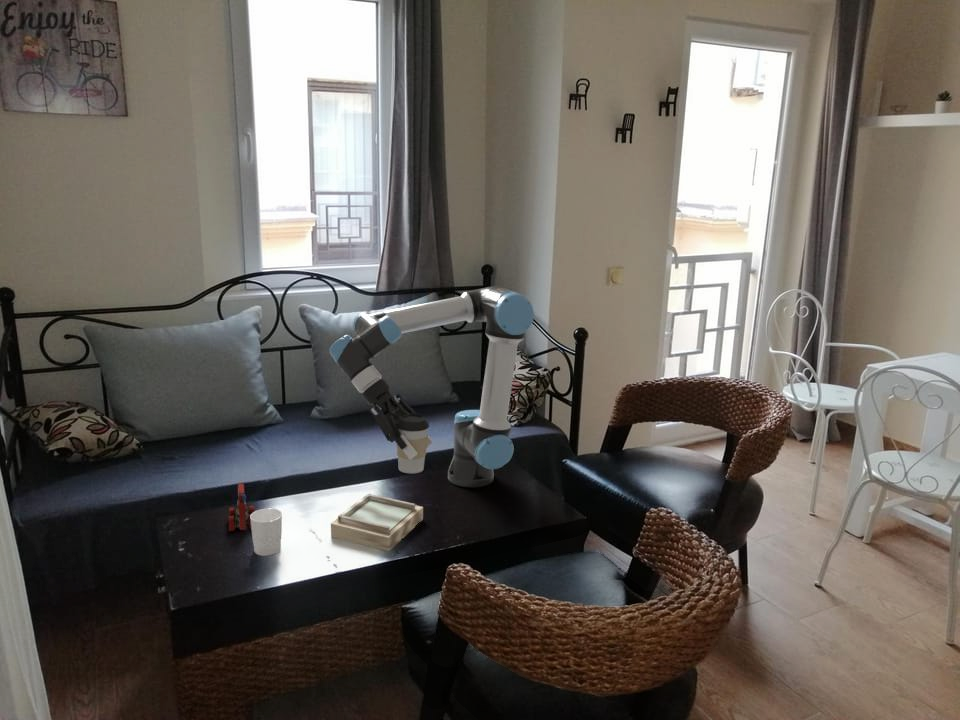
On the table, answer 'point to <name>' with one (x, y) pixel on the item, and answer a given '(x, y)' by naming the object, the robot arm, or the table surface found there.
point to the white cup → (266, 531)
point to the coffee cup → (413, 442)
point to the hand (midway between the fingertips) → (422, 450)
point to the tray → (377, 521)
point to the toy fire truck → (240, 512)
